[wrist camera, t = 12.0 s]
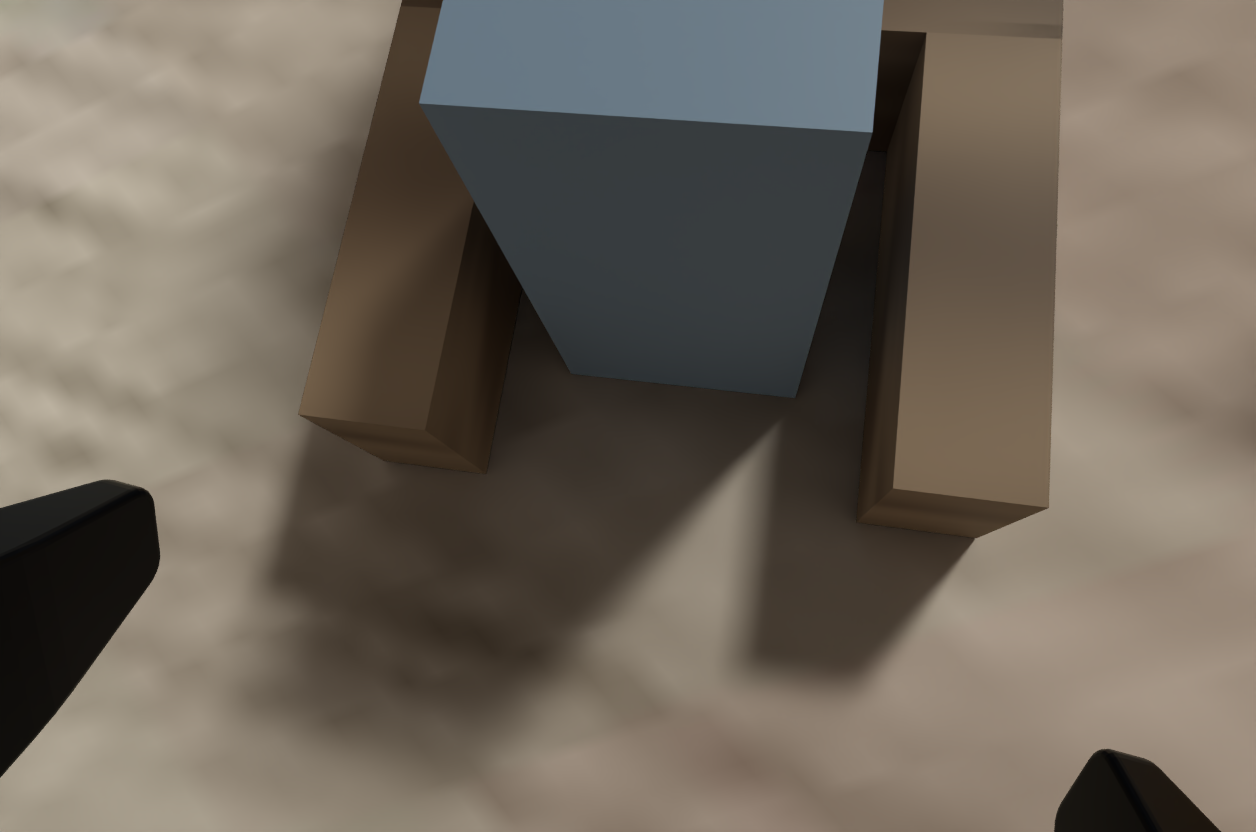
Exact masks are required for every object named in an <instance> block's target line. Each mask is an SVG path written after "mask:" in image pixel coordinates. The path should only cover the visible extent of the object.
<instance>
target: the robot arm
mask: <svg viewBox="0 0 1256 832" xmlns="http://www.w3.org/2000/svg"><path fill="white" fill-rule="evenodd" d="M159 561H160V548H159V540H158V531H157V523H156V515H155V506H154V501H153V498H152V496H151V495H150V493H149V492H148V491H147V490H145V489H144V488H141V487H138V486H134V485H130V484H126V483H123V482H119V481H115V480H99V481H96V482H92V483H88V484H85V485H81V486H78V487H74V488H71V489H67V490H63V491H60V492H56V493H53V494H49V495H46V496H42V497H38V498H35V499H31V500H28V501H24V502H21V503H17V504H13V505H10V506H6V507H3V508H0V778H1V776H2V775H3V774H4V773H5V772H6V771H7V770H8V768H9V767H10V766H11V765H12V764H13V763H14V762H15V760H16V759H17V758H18V757H19V756H20V755H21V754H22V752H23V751H24V750H25V749H26V748H27V747H28V746H29V744H30V743H31V742H32V741H33V740H34V739H35V738H36V736H37V735H38V734H39V733H40V732H41V730H42V729H43V728H44V727H45V726H46V724H47V723H48V722H49V721H50V720H51V718H52V717H53V716H54V715H55V714H56V712H57V711H58V710H59V708H60V707H61V706H62V705H63V703H64V702H65V701H66V699H67V698H68V697H69V695H70V694H71V693H72V692H73V690H74V689H75V687H76V686H77V685H78V683H79V682H80V681H81V679H82V678H83V676H84V675H85V674H86V672H87V671H88V669H89V668H90V667H91V665H92V664H93V662H94V661H95V660H96V658H97V657H98V656H99V654H100V653H101V651H102V650H103V649H104V647H105V646H106V644H107V643H108V642H109V640H110V639H111V637H112V636H113V635H114V633H115V632H116V630H117V629H118V628H119V626H120V625H121V624H122V622H123V621H124V619H125V618H126V617H127V615H128V614H129V612H130V611H131V610H132V608H133V607H134V605H135V604H136V603H137V601H138V600H139V599H140V597H141V596H142V594H143V593H144V592H145V590H146V589H147V587H148V586H149V585H150V583H151V582H152V580H153V578H154V576H155V574H156V572H157V569H158V566H159ZM1054 832H1221V831H1220V830H1219V829H1218V828H1217V827H1216V826H1215V825H1214V824H1213V823H1212V822H1211V821H1210V820H1209V819H1208V818H1207V817H1206V816H1205V815H1204V814H1203V813H1202V812H1201V811H1200V810H1199V808H1198V807H1197V806H1196V805H1195V804H1194V803H1193V802H1192V801H1191V800H1190V799H1189V798H1188V797H1187V796H1186V795H1185V794H1184V793H1183V792H1182V791H1181V790H1180V789H1179V788H1178V787H1177V786H1176V785H1175V784H1174V783H1173V782H1172V781H1171V780H1170V779H1169V778H1168V776H1167V775H1166V774H1165V773H1164V772H1163V771H1162V770H1161V769H1160V768H1159V767H1157V766H1156V765H1155V764H1154V763H1152V762H1151V761H1149V760H1147V759H1144V758H1141V757H1137V756H1134V755H1130V754H1126V753H1122V752H1119V751H1115V750H1111V749H1101V750H1099V751H1097V752H1095V753H1094V754H1093V755H1092V756H1091V758H1090V759H1089V760H1088V762H1087V763H1086V765H1085V766H1084V768H1083V770H1082V771H1081V773H1080V774H1079V776H1078V777H1077V779H1076V780H1075V782H1074V784H1073V785H1072V787H1071V788H1070V790H1069V791H1068V793H1067V794H1066V796H1065V798H1064V799H1063V801H1062V802H1061V804H1060V806H1059V808H1058V811H1057V814H1056V819H1055V828H1054Z"/></svg>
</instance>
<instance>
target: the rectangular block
mask: <svg viewBox="0 0 1256 832" xmlns="http://www.w3.org/2000/svg"><path fill="white" fill-rule="evenodd" d="M883 4H884V0H443V3H442V7H441V11H440V15H439V20H438V24H437V28H436V32H435V37H434V41H433V45H432V49H431V54H430V58H429V62H428V67H427V71H426V75H425V79H424V84H423V88H422V92H421V96H420V101H419V104H420V106H421V108H422V110H423V112H424V113H425V115H426V117H427V119H428V120H429V122H430V124H431V126H432V127H433V129H434V131H435V133H436V135H437V136H438V138H439V140H440V142H441V143H442V145H443V147H444V149H445V151H446V152H447V154H448V156H449V158H450V159H451V161H452V163H453V165H454V167H455V168H456V170H457V172H458V174H459V175H460V177H461V179H462V181H463V182H464V184H465V186H466V188H467V190H468V191H469V193H470V195H471V197H472V198H473V200H474V202H475V204H476V206H477V207H478V209H479V211H480V213H481V214H482V216H483V218H484V220H485V222H486V223H487V225H488V227H489V229H490V230H491V232H492V234H493V236H494V237H495V239H496V241H497V243H498V245H499V246H500V248H501V250H502V252H503V253H504V255H505V257H506V259H507V261H508V262H509V264H510V266H511V268H512V269H513V271H514V273H515V275H516V276H517V278H518V280H519V282H520V284H521V285H522V287H523V289H524V291H525V292H526V294H527V296H528V298H529V300H530V301H531V303H532V305H533V307H534V308H535V310H536V312H537V314H538V316H539V317H540V319H541V321H542V323H543V324H544V326H545V328H546V330H547V331H548V333H549V335H550V337H551V339H552V340H553V342H554V344H555V346H556V347H557V349H558V351H559V353H560V355H561V356H562V358H563V360H564V362H565V363H566V365H567V367H568V369H569V371H570V372H571V374H578V375H587V376H596V377H605V378H615V379H624V380H633V381H642V382H651V383H661V384H670V385H679V386H688V387H698V388H707V389H716V390H725V391H734V392H744V393H753V394H762V395H771V396H780V397H790V398H795V397H796V394H797V390H798V387H799V383H800V380H801V376H802V373H803V370H804V366H805V363H806V359H807V356H808V352H809V349H810V346H811V342H812V339H813V335H814V332H815V328H816V325H817V321H818V318H819V315H820V311H821V308H822V304H823V301H824V297H825V294H826V291H827V287H828V284H829V280H830V277H831V273H832V270H833V266H834V263H835V260H836V256H837V253H838V249H839V246H840V242H841V239H842V236H843V232H844V229H845V225H846V222H847V218H848V215H849V211H850V208H851V205H852V201H853V198H854V194H855V191H856V187H857V184H858V181H859V177H860V174H861V170H862V167H863V163H864V160H865V156H866V153H867V150H868V146H869V143H870V139H871V136H872V132H873V121H874V109H875V97H876V86H877V74H878V62H879V51H880V39H881V27H882V15H883Z"/></svg>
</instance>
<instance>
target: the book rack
mask: <svg viewBox="0 0 1256 832" xmlns="http://www.w3.org/2000/svg"><path fill="white" fill-rule="evenodd" d="M442 3H443V0H402V3H401V7H400V11H399V15H398V19H397V23H396V27H395V31H394V35H393V39H392V43H391V47H390V51H389V55H388V59H387V63H386V67H385V71H384V75H383V79H382V83H381V87H380V91H379V95H378V99H377V103H376V107H375V111H374V115H373V119H372V123H371V127H370V131H369V135H368V139H367V143H366V146H365V150H364V154H363V158H362V162H361V166H360V170H359V174H358V178H357V182H356V186H355V190H354V194H353V198H352V202H351V206H350V210H349V214H348V218H347V222H346V226H345V230H344V234H343V238H342V242H341V246H340V250H339V254H338V258H337V262H336V266H335V270H334V274H333V278H332V282H331V286H330V290H329V294H328V298H327V302H326V306H325V310H324V314H323V318H322V322H321V326H320V330H319V333H318V337H317V341H316V345H315V349H314V353H313V357H312V361H311V365H310V369H309V373H308V377H307V381H306V385H305V389H304V393H303V397H302V401H301V405H300V409H299V413H298V415H300V416H302V417H304V418H306V419H307V420H309V421H311V422H313V423H315V424H317V425H319V426H320V427H322V428H324V429H326V430H328V431H330V432H332V433H333V434H335V435H337V436H339V437H341V438H343V439H344V440H346V441H348V442H350V443H352V444H354V445H356V446H357V447H359V448H361V449H363V450H365V451H367V452H369V453H370V454H372V455H374V456H376V457H378V458H380V459H382V460H383V461H390V462H398V463H405V464H413V465H421V466H428V467H436V468H444V469H451V470H459V471H467V472H474V473H482V474H486V472H487V467H488V462H489V456H490V451H491V446H492V441H493V436H494V431H495V425H496V420H497V415H498V410H499V405H500V399H501V394H502V389H503V384H504V379H505V373H506V368H507V363H508V358H509V353H510V347H511V342H512V337H513V332H514V327H515V321H516V316H517V311H518V306H519V301H520V295H521V290H522V285H521V284H520V282H519V280H518V278H517V276H516V275H515V273H514V271H513V269H512V268H511V266H510V264H509V262H508V261H507V259H506V257H505V255H504V253H503V252H502V250H501V248H500V246H499V245H498V243H497V241H496V239H495V237H494V236H493V234H492V232H491V230H490V229H489V227H488V225H487V223H486V222H485V220H484V218H483V216H482V214H481V213H480V211H479V209H478V207H477V206H476V204H475V202H474V200H473V198H472V197H471V195H470V193H469V191H468V190H467V188H466V186H465V184H464V182H463V181H462V179H461V177H460V175H459V174H458V172H457V170H456V168H455V167H454V165H453V163H452V161H451V159H450V158H449V156H448V154H447V152H446V151H445V149H444V147H443V145H442V143H441V142H440V140H439V138H438V136H437V135H436V133H435V131H434V129H433V127H432V126H431V124H430V122H429V120H428V119H427V117H426V115H425V113H424V112H423V110H422V108H421V106H420V104H419V101H420V96H421V92H422V88H423V84H424V79H425V75H426V71H427V67H428V62H429V58H430V54H431V49H432V45H433V41H434V37H435V32H436V28H437V24H438V20H439V15H440V11H441V7H442ZM1062 28H1063V0H884V4H883V15H882V27H881V39H880V51H879V62H878V74H877V86H876V97H875V109H874V121H873V132H872V136H871V139H870V143H869V146H868V150H873V151H887V159H886V171H885V183H884V195H883V207H882V219H881V231H880V243H879V255H878V267H877V279H876V291H875V302H874V314H873V326H872V338H871V350H870V362H869V374H868V386H867V398H866V410H865V422H864V434H863V446H862V458H861V470H860V482H859V494H858V506H857V518H856V522H857V523H865V524H873V525H880V526H888V527H896V528H903V529H911V530H919V531H926V532H934V533H942V534H949V535H957V536H965V537H972V538H978V537H980V536H983V535H985V534H987V533H990V532H992V531H995V530H997V529H999V528H1002V527H1004V526H1006V525H1009V524H1011V523H1014V522H1016V521H1018V520H1021V519H1023V518H1026V517H1028V516H1030V515H1033V514H1035V513H1037V512H1040V511H1042V510H1045V509H1047V508H1049V483H1050V448H1051V413H1052V378H1053V343H1054V308H1055V273H1056V238H1057V203H1058V168H1059V133H1060V98H1061V63H1062Z"/></svg>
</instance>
